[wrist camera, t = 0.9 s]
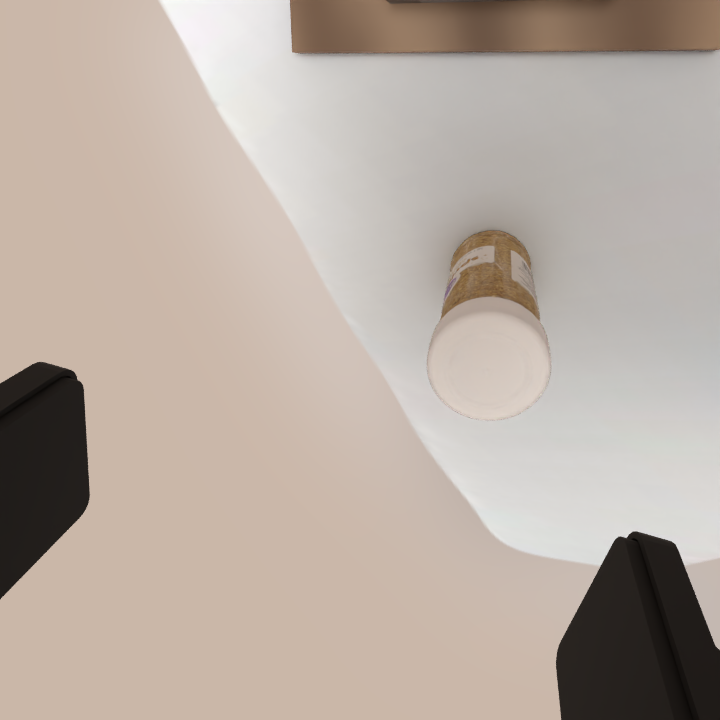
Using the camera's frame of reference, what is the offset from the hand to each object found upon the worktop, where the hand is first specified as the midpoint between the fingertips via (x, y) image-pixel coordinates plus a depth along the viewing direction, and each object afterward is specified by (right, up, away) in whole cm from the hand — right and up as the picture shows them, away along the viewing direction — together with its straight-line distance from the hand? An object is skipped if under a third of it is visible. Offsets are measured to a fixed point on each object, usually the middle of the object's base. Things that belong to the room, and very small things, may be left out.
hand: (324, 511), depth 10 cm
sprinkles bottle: (+8, +8, +23) cm, 26 cm away
